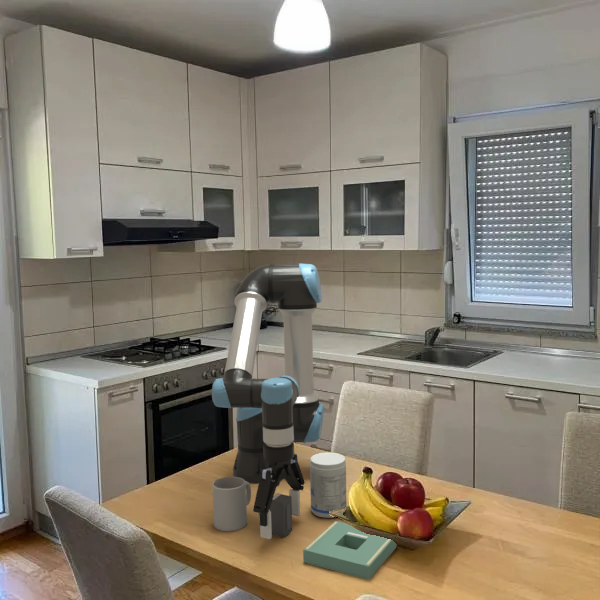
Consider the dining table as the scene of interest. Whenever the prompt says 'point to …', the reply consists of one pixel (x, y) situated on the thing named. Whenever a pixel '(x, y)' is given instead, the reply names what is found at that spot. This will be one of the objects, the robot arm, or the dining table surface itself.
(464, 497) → the dining table surface
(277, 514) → the plug
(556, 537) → the dining table surface
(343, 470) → the supplement tub
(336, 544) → the green square socket board
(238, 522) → the mug
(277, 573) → the dining table surface
